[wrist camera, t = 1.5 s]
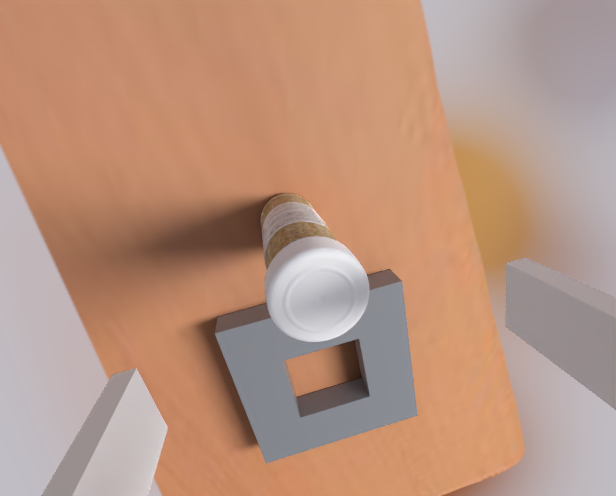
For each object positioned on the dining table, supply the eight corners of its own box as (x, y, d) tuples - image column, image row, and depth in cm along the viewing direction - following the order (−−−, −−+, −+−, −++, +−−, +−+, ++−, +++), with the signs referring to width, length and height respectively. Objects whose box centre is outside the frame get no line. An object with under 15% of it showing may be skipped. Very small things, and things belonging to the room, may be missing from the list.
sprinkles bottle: (312, 246, 27) (364, 345, 14) (258, 244, 26) (264, 348, 14) (317, 192, 25) (380, 251, 13) (259, 189, 25) (268, 249, 12)
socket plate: (217, 316, 28) (214, 333, 25) (389, 269, 29) (401, 281, 27) (265, 440, 34) (266, 463, 31) (406, 396, 35) (417, 415, 33)
